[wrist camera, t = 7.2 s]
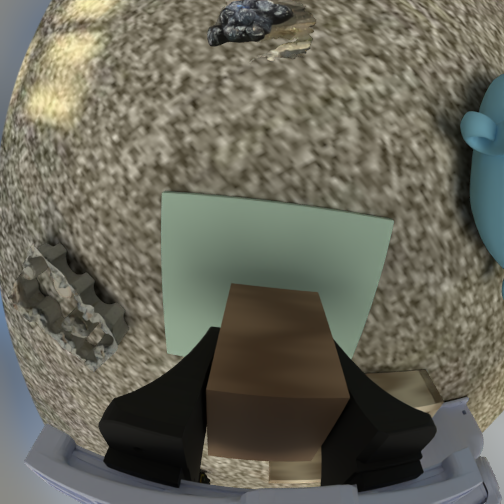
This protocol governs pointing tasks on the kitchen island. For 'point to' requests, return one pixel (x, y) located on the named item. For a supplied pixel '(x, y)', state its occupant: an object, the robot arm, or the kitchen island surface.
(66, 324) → the egg carton
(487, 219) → the decorative pot
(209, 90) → the kitchen island surface
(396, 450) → the robot arm
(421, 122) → the kitchen island surface
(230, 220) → the sage mat
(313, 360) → the walnut block
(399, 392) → the open-side box
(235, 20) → the blueberries
